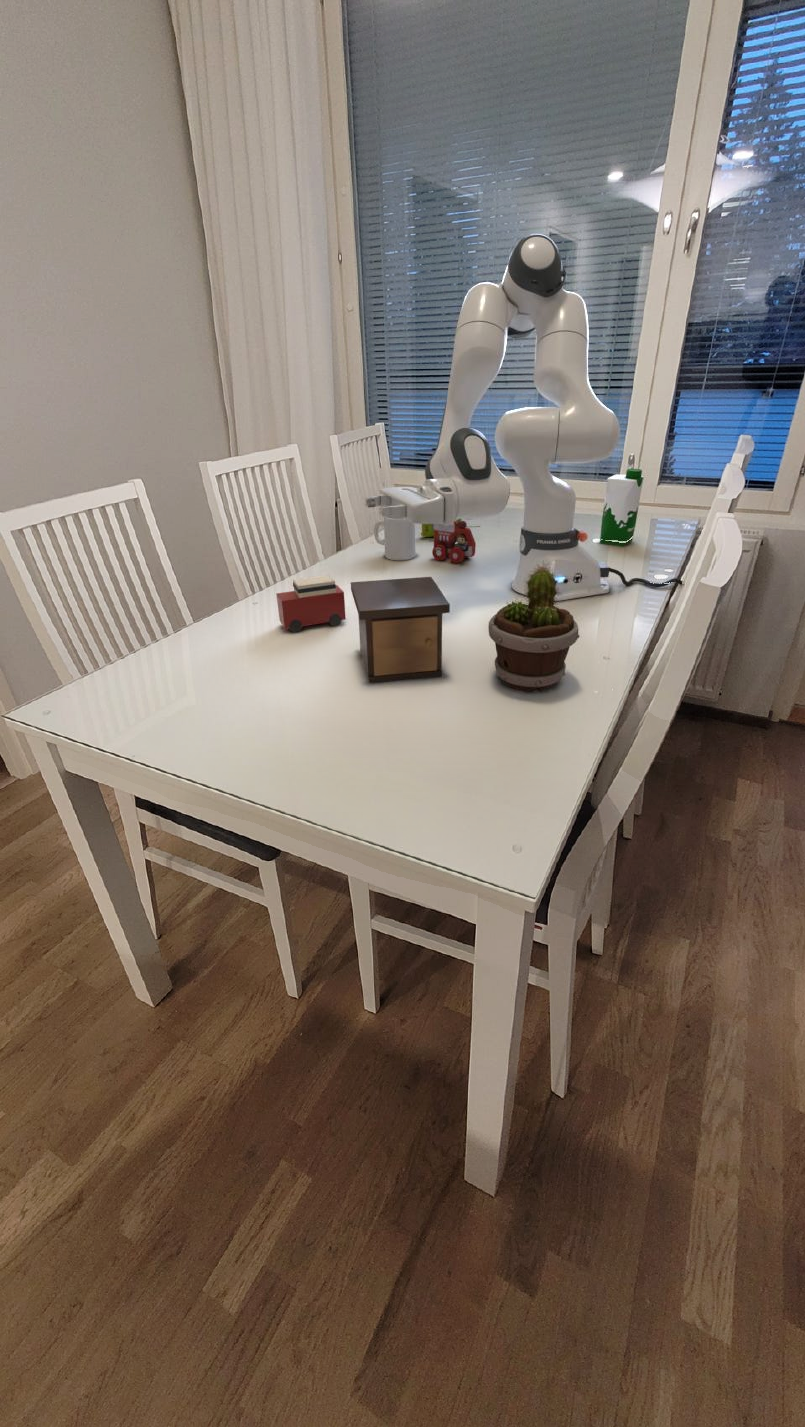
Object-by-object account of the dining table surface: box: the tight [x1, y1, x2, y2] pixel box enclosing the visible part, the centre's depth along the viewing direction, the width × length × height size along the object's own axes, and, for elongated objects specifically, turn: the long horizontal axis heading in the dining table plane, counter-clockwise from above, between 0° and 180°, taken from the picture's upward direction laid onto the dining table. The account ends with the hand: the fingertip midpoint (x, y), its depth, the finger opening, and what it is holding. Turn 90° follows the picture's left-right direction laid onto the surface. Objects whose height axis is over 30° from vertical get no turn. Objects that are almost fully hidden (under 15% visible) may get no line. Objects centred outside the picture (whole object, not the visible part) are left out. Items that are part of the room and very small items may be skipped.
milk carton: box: [599, 468, 645, 547], centre depth 181 cm, size 9×9×20 cm
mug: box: [373, 516, 417, 561], centre depth 176 cm, size 12×8×11 cm
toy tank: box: [420, 519, 481, 538], centre depth 193 cm, size 7×19×10 cm
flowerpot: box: [488, 561, 580, 692], centre depth 107 cm, size 14×15×20 cm
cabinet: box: [350, 576, 451, 684], centre depth 114 cm, size 15×16×14 cm
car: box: [275, 574, 346, 633], centre depth 133 cm, size 13×5×10 cm, turn 112°
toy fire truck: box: [431, 520, 477, 564], centre depth 172 cm, size 7×12×10 cm, turn 58°
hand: (373, 507), depth 129 cm, fingers open, 8 cm apart
